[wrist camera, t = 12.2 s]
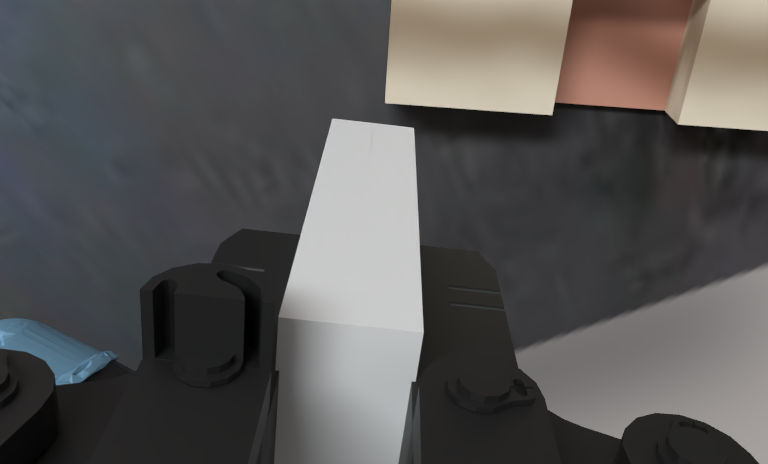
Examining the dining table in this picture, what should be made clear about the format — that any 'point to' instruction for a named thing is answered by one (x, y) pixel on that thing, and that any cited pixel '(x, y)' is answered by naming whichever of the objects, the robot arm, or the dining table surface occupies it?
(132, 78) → the dining table surface
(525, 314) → the dining table surface
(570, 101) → the platform
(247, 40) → the dining table surface
